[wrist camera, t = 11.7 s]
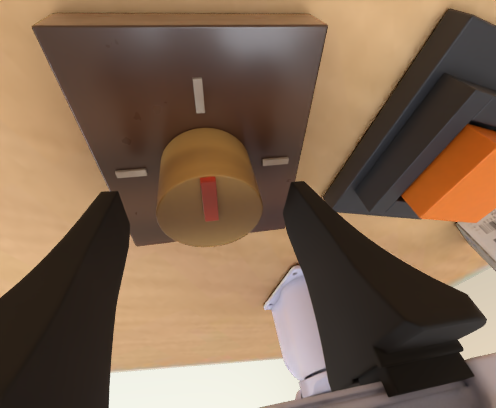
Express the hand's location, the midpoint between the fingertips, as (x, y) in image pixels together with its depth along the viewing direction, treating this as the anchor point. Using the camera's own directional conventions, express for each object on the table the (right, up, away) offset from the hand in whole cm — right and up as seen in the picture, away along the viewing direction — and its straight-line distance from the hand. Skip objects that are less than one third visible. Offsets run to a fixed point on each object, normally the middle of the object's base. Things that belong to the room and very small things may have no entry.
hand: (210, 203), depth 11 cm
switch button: (+14, +2, +4) cm, 14 cm away
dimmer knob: (0, +2, +2) cm, 3 cm away
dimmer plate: (-1, +3, +3) cm, 5 cm away
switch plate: (+13, +4, +6) cm, 15 cm away
